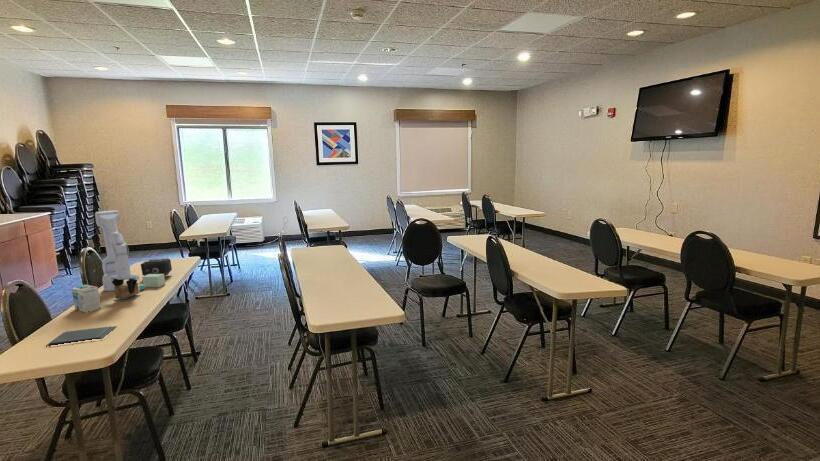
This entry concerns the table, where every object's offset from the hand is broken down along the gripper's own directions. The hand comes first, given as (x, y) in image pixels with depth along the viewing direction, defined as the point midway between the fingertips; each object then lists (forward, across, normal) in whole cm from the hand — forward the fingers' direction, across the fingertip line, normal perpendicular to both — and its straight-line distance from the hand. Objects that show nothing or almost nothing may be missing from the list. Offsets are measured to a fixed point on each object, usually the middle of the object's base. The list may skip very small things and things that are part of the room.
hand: (126, 293), depth 211 cm
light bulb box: (+3, -8, -15) cm, 17 cm away
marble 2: (+3, -2, +13) cm, 13 cm away
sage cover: (+3, 0, +21) cm, 21 cm away
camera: (+3, -10, +37) cm, 38 cm away
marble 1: (+3, -2, +9) cm, 10 cm away
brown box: (+2, 0, 0) cm, 2 cm away
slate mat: (+3, 0, 0) cm, 3 cm away
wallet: (+4, +17, -45) cm, 48 cm away
